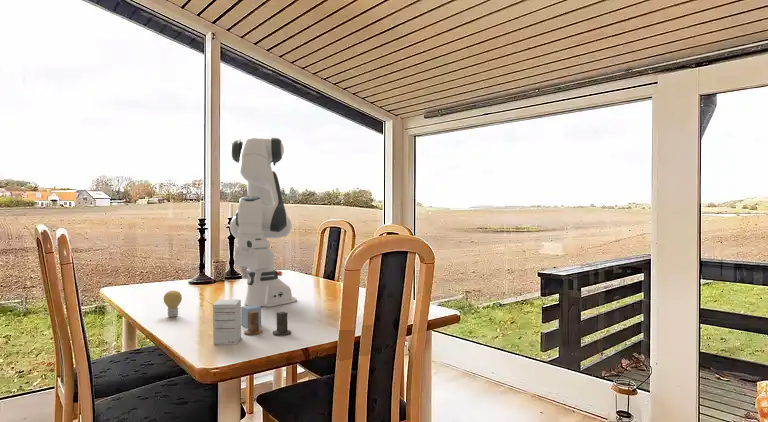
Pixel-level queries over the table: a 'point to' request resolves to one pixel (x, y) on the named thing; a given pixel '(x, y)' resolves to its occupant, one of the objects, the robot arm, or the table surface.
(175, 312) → the light bulb
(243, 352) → the table surface
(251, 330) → the walnut post
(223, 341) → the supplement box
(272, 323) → the table surface
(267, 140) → the robot arm
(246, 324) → the cap
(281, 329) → the black post
